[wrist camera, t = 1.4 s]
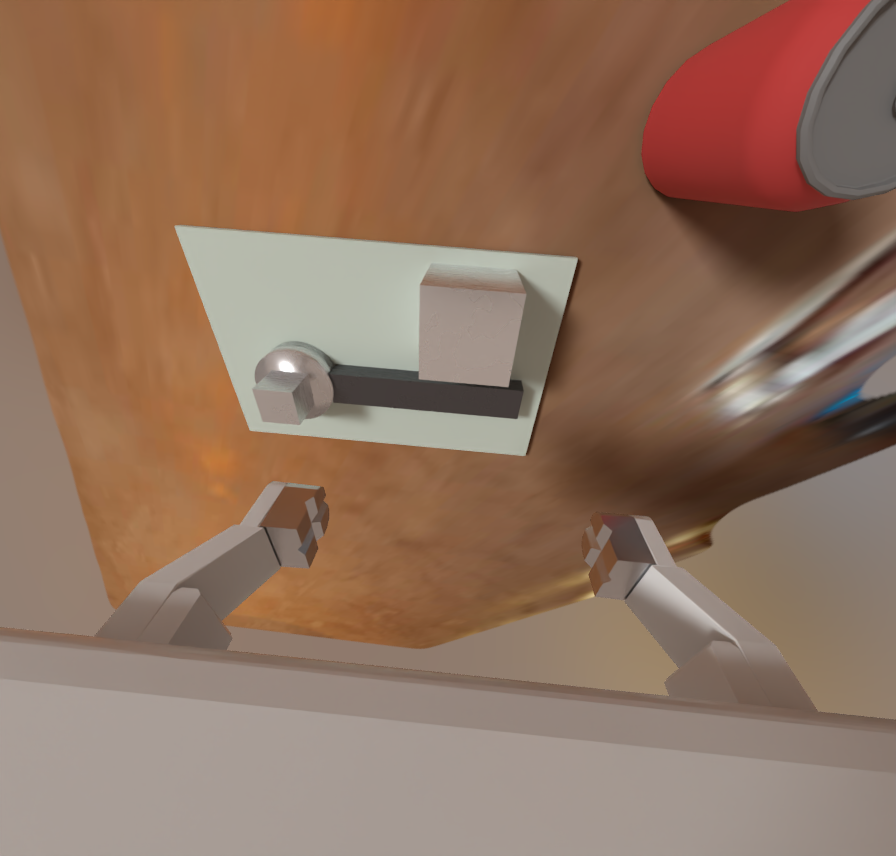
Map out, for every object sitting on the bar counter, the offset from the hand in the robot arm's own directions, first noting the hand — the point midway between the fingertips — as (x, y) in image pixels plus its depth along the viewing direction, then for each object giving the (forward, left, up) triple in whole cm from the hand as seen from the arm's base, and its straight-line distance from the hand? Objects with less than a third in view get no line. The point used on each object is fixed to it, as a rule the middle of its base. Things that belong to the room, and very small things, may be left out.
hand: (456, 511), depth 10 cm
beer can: (-11, +12, -20) cm, 26 cm away
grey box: (0, 0, -19) cm, 19 cm away
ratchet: (+7, -6, -19) cm, 21 cm away
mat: (+5, -7, -20) cm, 21 cm away
